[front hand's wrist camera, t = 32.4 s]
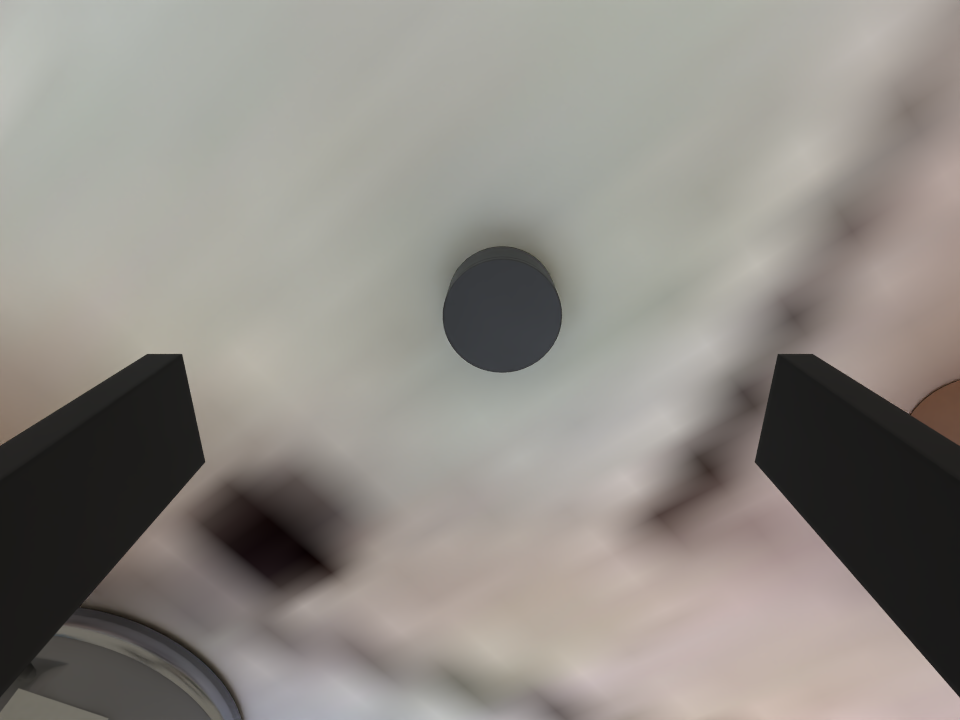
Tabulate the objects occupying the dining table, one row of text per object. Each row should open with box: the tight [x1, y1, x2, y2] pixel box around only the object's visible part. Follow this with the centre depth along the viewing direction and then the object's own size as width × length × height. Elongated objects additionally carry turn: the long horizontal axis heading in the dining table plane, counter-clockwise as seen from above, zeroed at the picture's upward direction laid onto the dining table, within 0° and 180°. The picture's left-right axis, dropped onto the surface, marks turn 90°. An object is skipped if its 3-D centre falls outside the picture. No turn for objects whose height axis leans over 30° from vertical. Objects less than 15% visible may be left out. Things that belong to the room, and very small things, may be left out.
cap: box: [443, 247, 562, 372], centre depth 19 cm, size 4×4×2 cm
